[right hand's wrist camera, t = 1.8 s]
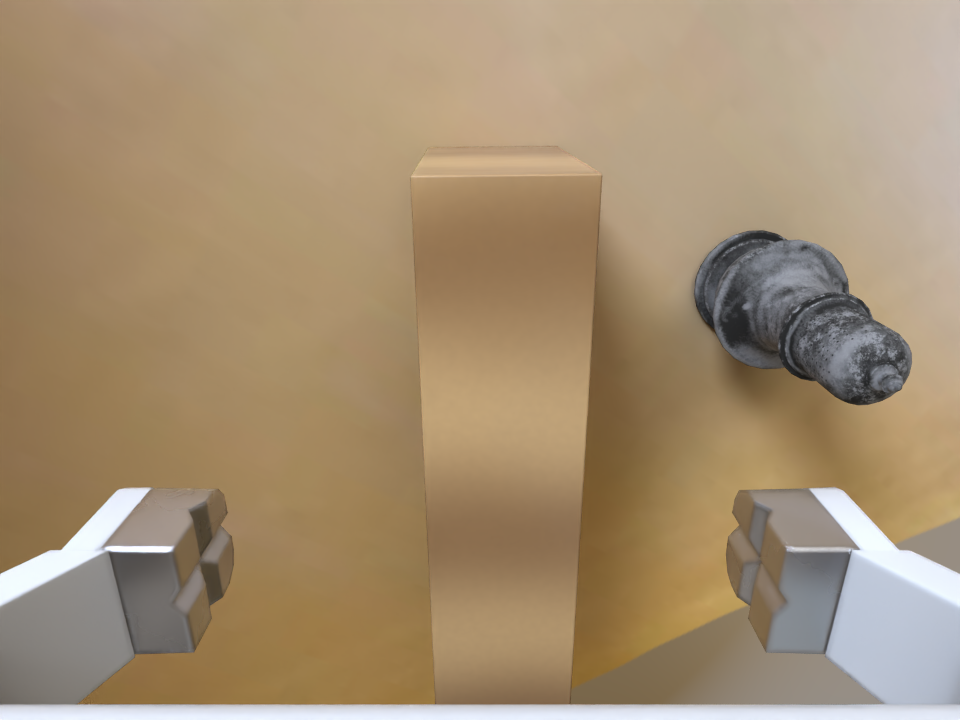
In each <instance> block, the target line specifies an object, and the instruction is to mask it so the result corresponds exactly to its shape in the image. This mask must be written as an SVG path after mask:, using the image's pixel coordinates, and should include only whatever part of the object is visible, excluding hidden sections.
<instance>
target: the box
mask: <svg viewBox="0 0 960 720" xmlns="http://www.w3.org/2000/svg"><path fill="white" fill-rule="evenodd" d="M410 181H411V202H412V223H413V245H414V266H415V287H416V308H417V329H418V350H419V371H420V393H421V414H422V435H423V456H424V477H425V498H426V519H427V541H428V562H429V583H430V604H431V625H432V646H433V667H434V689H435V704H570V700H571V684H572V667H573V651H574V634H575V618H576V601H577V585H578V568H579V552H580V535H581V518H582V502H583V485H584V469H585V452H586V436H587V419H588V403H589V386H590V370H591V353H592V337H593V320H594V304H595V287H596V271H597V254H598V238H599V221H600V205H601V188H602V174H601V173H600V172H598V171H596V170H595V169H593V168H592V167H590V166H588V165H587V164H585V163H583V162H582V161H580V160H579V159H577V158H575V157H574V156H572V155H571V154H569V153H567V152H566V151H564V150H563V149H561V148H559V147H558V146H521V147H429V148H428V149H427V151H426V152H425V154H424V155H423V157H422V159H421V160H420V162H419V164H418V165H417V167H416V169H415V170H414V172H413V173H412V175H411V177H410Z"/></svg>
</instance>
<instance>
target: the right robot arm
mask: <svg viewBox="0 0 960 720" xmlns="http://www.w3.org/2000/svg"><path fill="white" fill-rule="evenodd" d="M227 513H228V512H227V507H226V502H225V497H224V494H223V493H222V492H221V491H220V490H219V489H188V488H156V489H155V488H123V489H119V490H117V491H116V492H115V493H114V494H113V495H112V496H111V497H110V498H109V499H108V501H107V502H106V503H105V504H104V505H103V506H102V507H101V508H100V509H99V510H98V511H97V512H96V513H95V514H94V516H93V517H92V518H91V519H90V520H89V521H88V522H87V523H86V524H85V525H84V526H83V527H82V528H81V529H80V530H79V532H78V533H77V534H76V535H75V536H74V537H73V538H72V539H71V540H70V541H69V542H68V543H67V544H66V545H65V546H64V548H63V549H62V550H50V551H48V552H46V553H43V554H41V555H39V556H37V557H35V558H33V559H31V560H29V561H26V562H24V563H22V564H20V565H18V566H16V567H14V568H12V569H9V570H7V571H5V572H3V573H1V574H0V720H960V574H959V573H957V572H955V571H953V570H950V569H948V568H946V567H944V566H942V565H940V564H938V563H936V562H934V561H931V560H929V559H927V558H925V557H923V556H921V555H919V554H917V553H914V552H912V551H910V550H898V549H897V547H896V546H895V545H894V544H893V543H892V542H891V541H890V540H889V539H888V538H887V537H886V536H885V535H884V534H883V532H882V531H881V530H880V529H879V528H878V527H877V526H876V525H875V524H874V523H873V522H872V521H871V520H870V519H869V518H868V516H867V515H866V514H865V513H864V512H863V511H862V510H861V509H860V508H859V507H858V506H857V505H856V504H855V503H854V502H853V500H852V499H851V498H850V497H849V496H848V495H847V494H846V493H845V492H844V491H843V490H841V489H838V488H836V487H828V488H803V489H769V490H739V491H738V494H737V496H736V498H735V501H734V506H733V512H732V513H733V515H734V516H735V518H736V520H737V521H738V523H739V526H738V527H737V528H736V529H735V530H734V531H733V532H732V533H731V534H730V535H729V536H728V543H727V551H726V561H727V572H728V576H729V579H730V582H731V585H732V588H733V590H734V592H735V594H736V596H737V597H738V598H739V599H741V600H742V601H744V602H745V603H747V604H748V605H750V611H749V617H748V619H749V621H750V623H751V625H752V627H753V629H754V630H755V632H756V634H757V636H758V638H759V640H760V642H761V644H762V646H763V648H764V649H765V651H766V652H768V653H804V654H825V657H826V658H827V659H828V660H830V661H831V662H832V663H833V664H835V665H836V666H837V667H838V668H839V669H841V670H842V671H843V672H844V673H846V674H847V675H848V676H849V677H850V678H852V679H853V680H854V681H855V682H857V683H858V684H859V685H860V686H862V687H863V688H864V689H865V690H867V691H868V692H869V693H870V694H872V695H873V696H874V697H875V698H876V699H878V700H879V701H880V702H881V703H883V704H78V703H79V702H80V701H81V700H83V699H84V698H85V697H86V696H88V695H89V694H90V693H91V692H92V691H94V690H95V689H96V688H97V687H99V686H100V685H101V684H102V683H104V682H105V681H106V680H107V679H109V678H110V677H111V676H112V675H113V674H115V673H116V672H117V671H118V670H120V669H121V668H122V667H123V666H125V665H126V664H127V663H128V662H130V661H131V660H132V659H133V658H134V657H135V654H155V653H190V652H195V650H196V648H197V646H198V644H199V642H200V640H201V638H202V636H203V634H204V632H205V630H206V629H207V627H208V625H209V623H210V621H211V619H212V617H211V611H210V605H212V604H213V603H215V602H216V601H218V600H219V599H221V598H222V597H223V596H224V594H225V592H226V589H227V587H228V585H229V583H230V579H231V574H232V570H233V565H234V548H233V542H232V536H231V535H230V534H229V533H228V532H227V531H226V530H225V529H224V528H223V527H222V526H221V523H222V522H223V520H224V518H225V516H226V515H227Z"/></svg>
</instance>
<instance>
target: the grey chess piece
mask: <svg viewBox="0 0 960 720" xmlns="http://www.w3.org/2000/svg"><path fill="white" fill-rule="evenodd" d="M694 295H695V301H696V306H697V308H698V310H699V312H700V314H701V316H702V318H703V319H704V320H705V321H706V322H707V323H708V324H709V325H710V326H711V327H712V328H714V329H715V333H716V335H717V337H718V339H719V341H720V343H721V345H722V347H723V348H724V349H725V350H726V351H727V352H728V353H729V354H730V355H731V356H732V357H733V358H735V359H736V360H738V361H740V362H742V363H744V364H746V365H748V366H752V367H757V368H761V369H776V368H783V367H785V368H786V369H787V370H788V371H789V372H790V373H791V374H793V375H795V376H797V377H799V378H800V379H804V380H809V381H817V382H818V383H819V384H821V385H822V386H823V387H824V388H825V389H827V390H828V391H829V392H830V393H831V394H833V395H834V396H835V397H837V398H838V399H840V400H842V401H844V402H847V403H850V404H855V405H869V404H873V403H876V402H880V401H883V400H885V399H887V398H888V397H890V396H892V395H893V394H894V393H896V392H897V391H900V390H901V389H902V386H903V384H904V383H905V381H906V380H907V378H908V376H909V373H910V369H911V365H912V353H911V350H910V348H909V345H908V344H907V343H906V342H905V340H904V339H903V338H902V337H901V336H900V335H899V334H898V333H896V332H895V331H893V330H891V329H889V328H888V327H886V326H884V325H882V324H881V323H879V322H877V321H875V320H874V319H873V317H872V315H871V312H870V310H869V308H868V307H867V306H866V305H865V304H864V302H863V301H862V300H860V299H858V298H856V297H855V296H853V295H851V294H849V286H848V279H847V276H846V274H845V271H844V269H843V267H842V265H841V263H840V262H839V261H838V260H837V259H836V258H835V256H834V255H833V254H832V253H831V252H829V251H827V250H826V249H824V248H822V247H821V246H819V245H817V244H815V243H810V242H806V241H802V240H786V239H785V238H783V237H781V236H780V235H778V234H775V233H771V232H767V231H747V232H743V233H740V234H736V235H733V236H732V237H730V238H728V239H726V240H725V241H723V242H721V243H720V244H719V245H718V246H717V247H716V248H714V249H713V250H712V251H711V252H710V253H709V254H708V256H707V257H706V259H705V260H704V262H703V263H702V265H701V266H700V269H699V272H698V274H697V277H696V280H695V290H694Z"/></svg>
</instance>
